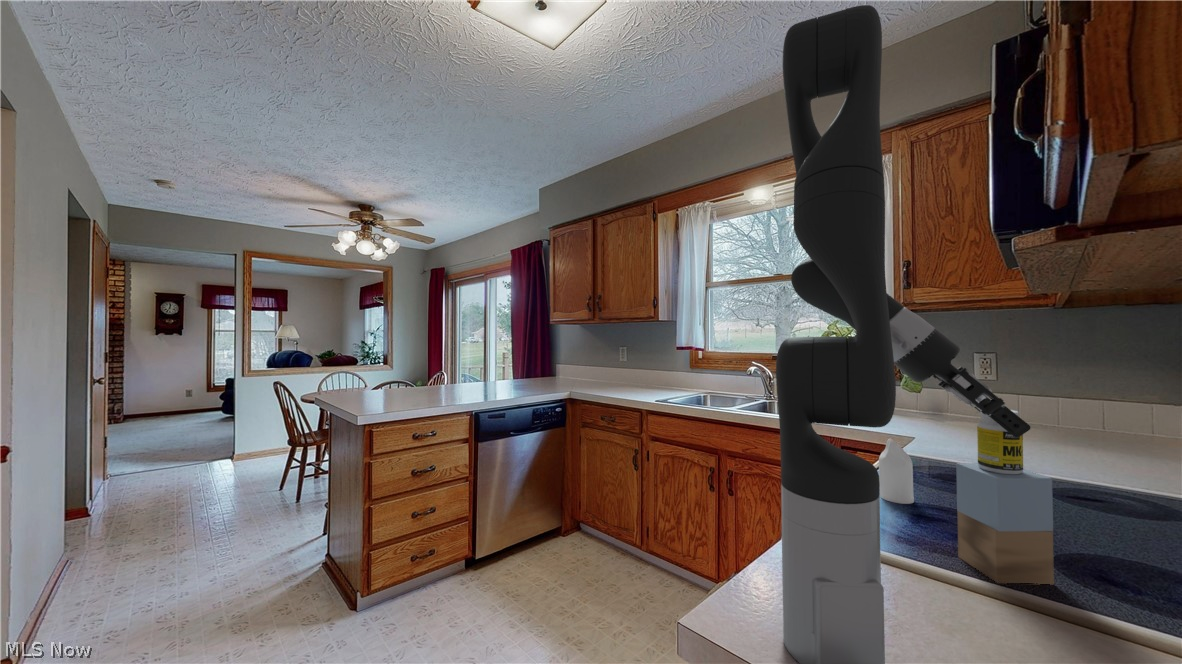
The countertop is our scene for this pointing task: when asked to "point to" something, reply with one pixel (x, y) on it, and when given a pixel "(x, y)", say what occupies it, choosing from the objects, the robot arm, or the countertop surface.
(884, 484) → the white bottle
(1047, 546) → the walnut block
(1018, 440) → the supplement bottle
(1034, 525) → the slate block
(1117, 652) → the countertop surface
